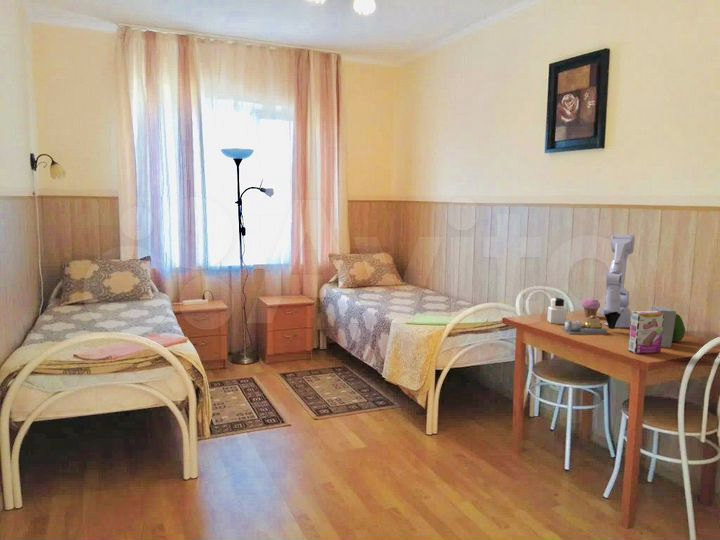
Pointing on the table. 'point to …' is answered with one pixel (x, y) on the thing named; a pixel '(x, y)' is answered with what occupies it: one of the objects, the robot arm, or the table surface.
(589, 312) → the cupcake
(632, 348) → the candy bar box
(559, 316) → the medicine bottle
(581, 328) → the grey piece
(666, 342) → the skincare box
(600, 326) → the valve
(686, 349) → the table surface
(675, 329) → the avocado
